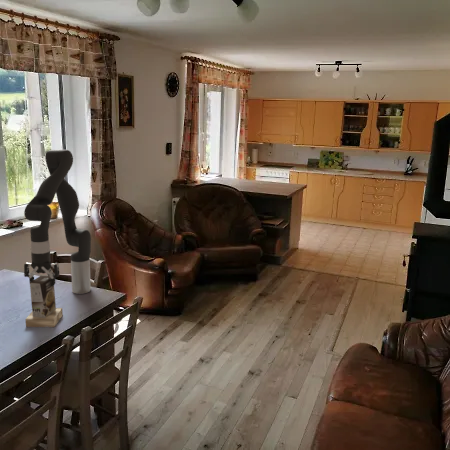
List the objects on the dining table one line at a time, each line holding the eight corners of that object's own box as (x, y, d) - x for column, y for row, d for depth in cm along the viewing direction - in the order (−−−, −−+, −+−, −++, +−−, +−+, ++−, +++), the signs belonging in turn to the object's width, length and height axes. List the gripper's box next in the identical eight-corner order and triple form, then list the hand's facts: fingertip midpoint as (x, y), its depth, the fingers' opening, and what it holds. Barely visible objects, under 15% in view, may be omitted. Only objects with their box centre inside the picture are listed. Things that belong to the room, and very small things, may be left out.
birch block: (36, 315, 205) (35, 307, 204) (62, 316, 206) (62, 308, 205) (26, 327, 193) (25, 319, 193) (54, 328, 194) (53, 319, 193)
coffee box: (45, 318, 194) (42, 283, 190) (32, 317, 195) (28, 282, 191) (56, 309, 203) (54, 276, 199) (43, 308, 204) (40, 274, 199)
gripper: (60, 248, 196) (61, 282, 200) (26, 247, 195) (29, 282, 199) (54, 253, 188) (56, 289, 192) (20, 252, 188) (22, 288, 191)
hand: (42, 285), depth 196 cm, fingers open, 8 cm apart
